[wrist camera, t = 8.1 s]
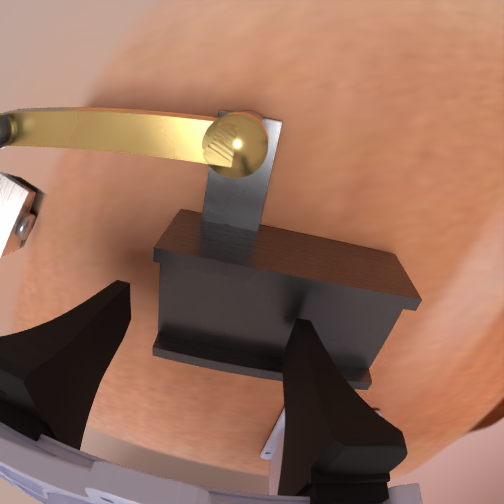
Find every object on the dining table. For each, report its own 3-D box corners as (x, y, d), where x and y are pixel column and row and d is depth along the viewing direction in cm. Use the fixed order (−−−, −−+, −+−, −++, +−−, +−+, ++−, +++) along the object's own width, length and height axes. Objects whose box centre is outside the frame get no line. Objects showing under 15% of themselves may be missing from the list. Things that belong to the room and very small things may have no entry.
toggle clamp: (355, 339, 19) (367, 389, 15) (172, 306, 18) (152, 355, 15) (428, 159, 13) (471, 184, 10) (196, 101, 13) (167, 106, 9)
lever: (16, 145, 10) (-17, 158, 8) (17, 101, 9) (-18, 109, 7) (263, 172, 10) (260, 191, 8) (273, 116, 9) (273, 123, 7)
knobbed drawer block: (-4, 228, 17) (30, 250, 18) (-33, 235, 13) (8, 263, 14) (20, 177, 17) (55, 198, 19) (-5, 170, 13) (37, 197, 14)
